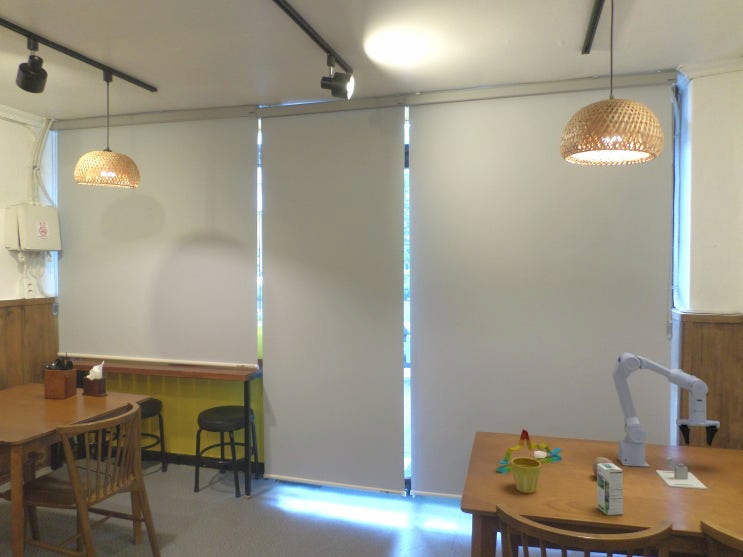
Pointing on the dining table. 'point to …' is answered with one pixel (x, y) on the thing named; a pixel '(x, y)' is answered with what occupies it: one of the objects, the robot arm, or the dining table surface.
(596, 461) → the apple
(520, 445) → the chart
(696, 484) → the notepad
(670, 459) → the lighter
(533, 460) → the plant pot
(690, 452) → the dining table surface
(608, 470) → the syrup box
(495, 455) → the dining table surface
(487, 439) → the dining table surface
